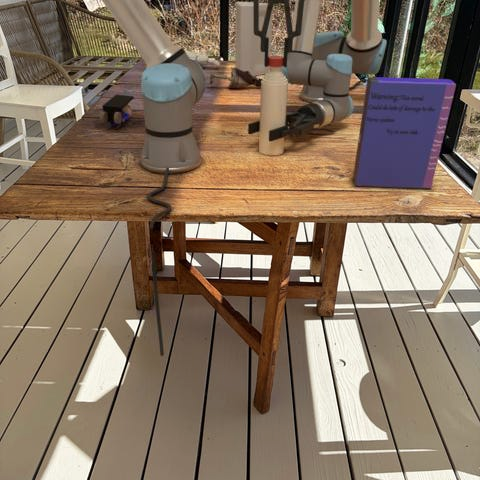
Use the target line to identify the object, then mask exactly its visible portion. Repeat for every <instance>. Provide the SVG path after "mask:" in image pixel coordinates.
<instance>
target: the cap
mask: <svg viewBox="0 0 480 480" xmlns="http://www.w3.org/2000/svg"><path fill="white" fill-rule="evenodd" d="M268 66H270V67H282V66H284V57H283V55H282V56H281V55H271V56H269V57H268Z"/></svg>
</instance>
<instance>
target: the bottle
mask: <svg viewBox="0 0 480 480" xmlns="http://www.w3.org/2000/svg"><path fill="white" fill-rule="evenodd" d="M261 79H262V81H261V87H260V106H259V121H260V128H259V132H258V153H260V154H262V155H266V156H278V155H282V154H283V153H284V152H285V138H286V137H283V138H280V139H277V140H274V141H269V131H270V130H273V129H276V128H280V127H283V126H285V124H286V114H287V106H288V92H289V83H288V81H287V78H286V76H284V74H283V73H282V71H281V67H270V70H269V71H268V73H266V74H264V75H263V77H261Z"/></svg>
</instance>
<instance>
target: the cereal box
mask: <svg viewBox="0 0 480 480" xmlns="http://www.w3.org/2000/svg"><path fill="white" fill-rule="evenodd" d="M365 85H366V86H365V92H364V98H363V99H364V100H363V106H362V113H361V118H360V126H359V132H358V140H357V146H356V153H355V160H354V166H353V167H354V168H353V173H352V180H353V183H354V185H355V187H373V188H395V189H396V188H397V189H398V188H399V189H419V190H420V189H421V190H422V189H423V190H432V185H433V183H434V178H435V173H436V170H437V166H438V161H439V158H440V153H441V150H442V145H443V141H444V136H445V133H446V129H447V125H448V121H449V115H450V112H451V107H452V103H453V100H454V95H455V91H456V88H457V87H456V86H457V84H456V83H455V82H454V80H452V79H448V78H419V77H418V78H417V77H416V78H415V77H413V78H412V77H411V78H410V77H384V76H383V77H379V76H378V77H377V76H367V78H366V84H365Z"/></svg>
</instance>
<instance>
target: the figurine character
mask: <svg viewBox="0 0 480 480" xmlns="http://www.w3.org/2000/svg"><path fill="white" fill-rule="evenodd" d="M134 99H135V96H133V95H122V94H115V95H113V96H112V97H111V98H110V99H108V100H107V102H105V103H104V104H102V110H101V111H100V112H99V116H98V117H99V119H98V120H99V122H100V123H101V124H107V123H109V124H108V125H107V127H106V128H107V129H111V127H113V126H116V130H118V129H119V128H120V127H121V126H122V125H121V124H124V122H125V121H127V120H129V119H130V118H131V116H132V114H133V111H132V108H131V106H130V105H129V103H130V102H132V101H133V100H134Z"/></svg>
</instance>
